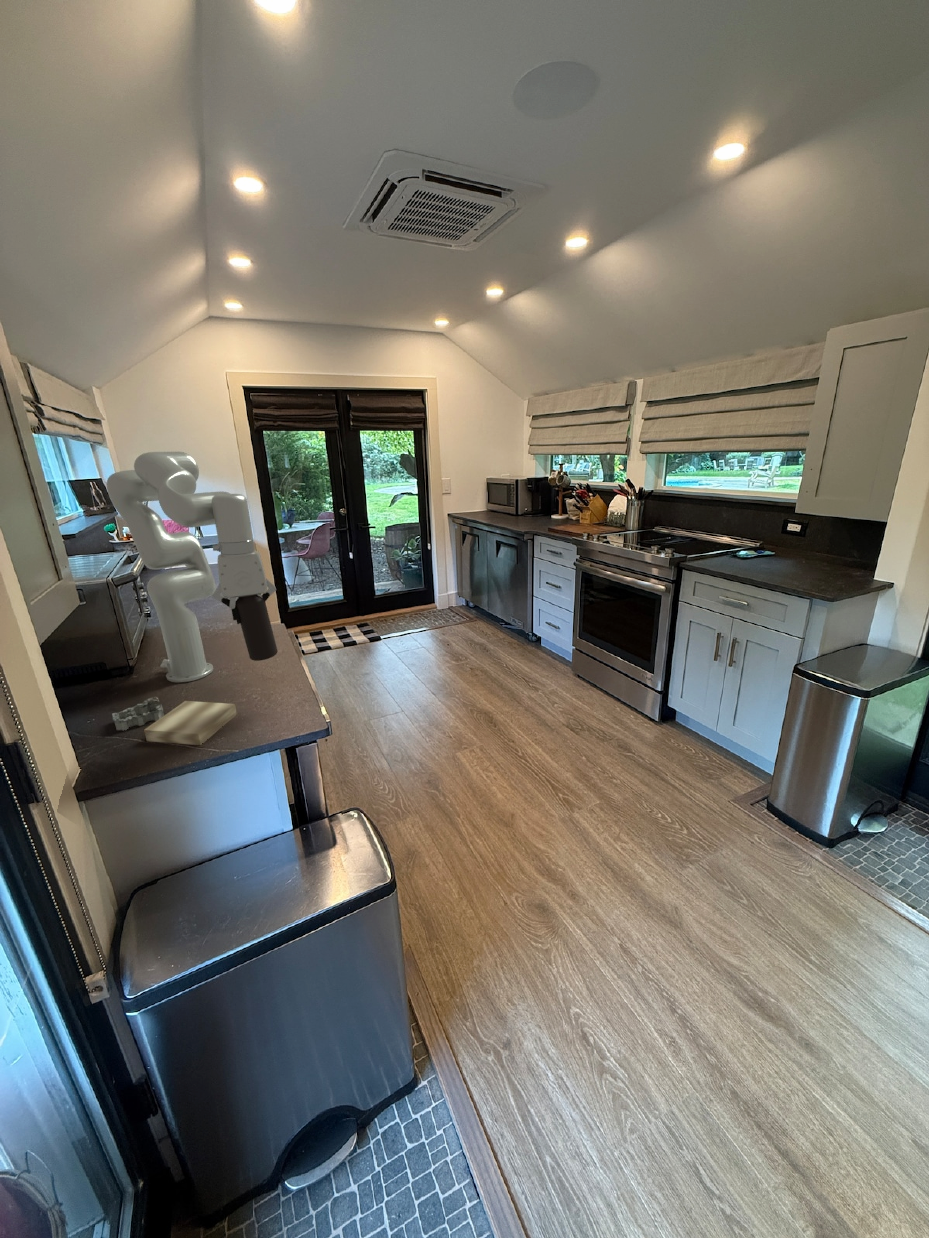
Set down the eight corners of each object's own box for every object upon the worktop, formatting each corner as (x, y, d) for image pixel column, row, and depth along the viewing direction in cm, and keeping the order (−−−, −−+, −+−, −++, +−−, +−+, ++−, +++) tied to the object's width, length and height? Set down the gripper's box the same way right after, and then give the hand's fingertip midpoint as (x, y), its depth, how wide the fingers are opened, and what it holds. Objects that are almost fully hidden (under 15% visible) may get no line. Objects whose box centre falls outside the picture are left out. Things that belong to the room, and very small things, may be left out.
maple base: (146, 741, 115) (143, 729, 114) (187, 711, 128) (185, 700, 127) (200, 745, 112) (198, 733, 111) (236, 714, 125) (234, 703, 124)
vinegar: (264, 662, 121) (243, 585, 114) (244, 660, 124) (222, 584, 117) (283, 651, 127) (265, 576, 120) (264, 649, 130) (245, 576, 123)
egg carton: (162, 708, 130) (159, 694, 129) (166, 720, 124) (162, 705, 123) (114, 721, 124) (110, 707, 123) (115, 734, 118) (111, 719, 117)
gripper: (196, 554, 109) (212, 631, 115) (277, 547, 116) (287, 619, 122) (197, 548, 115) (212, 621, 121) (273, 542, 122) (283, 611, 128)
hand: (249, 620), depth 122 cm, fingers closed on vinegar, 4 cm apart
